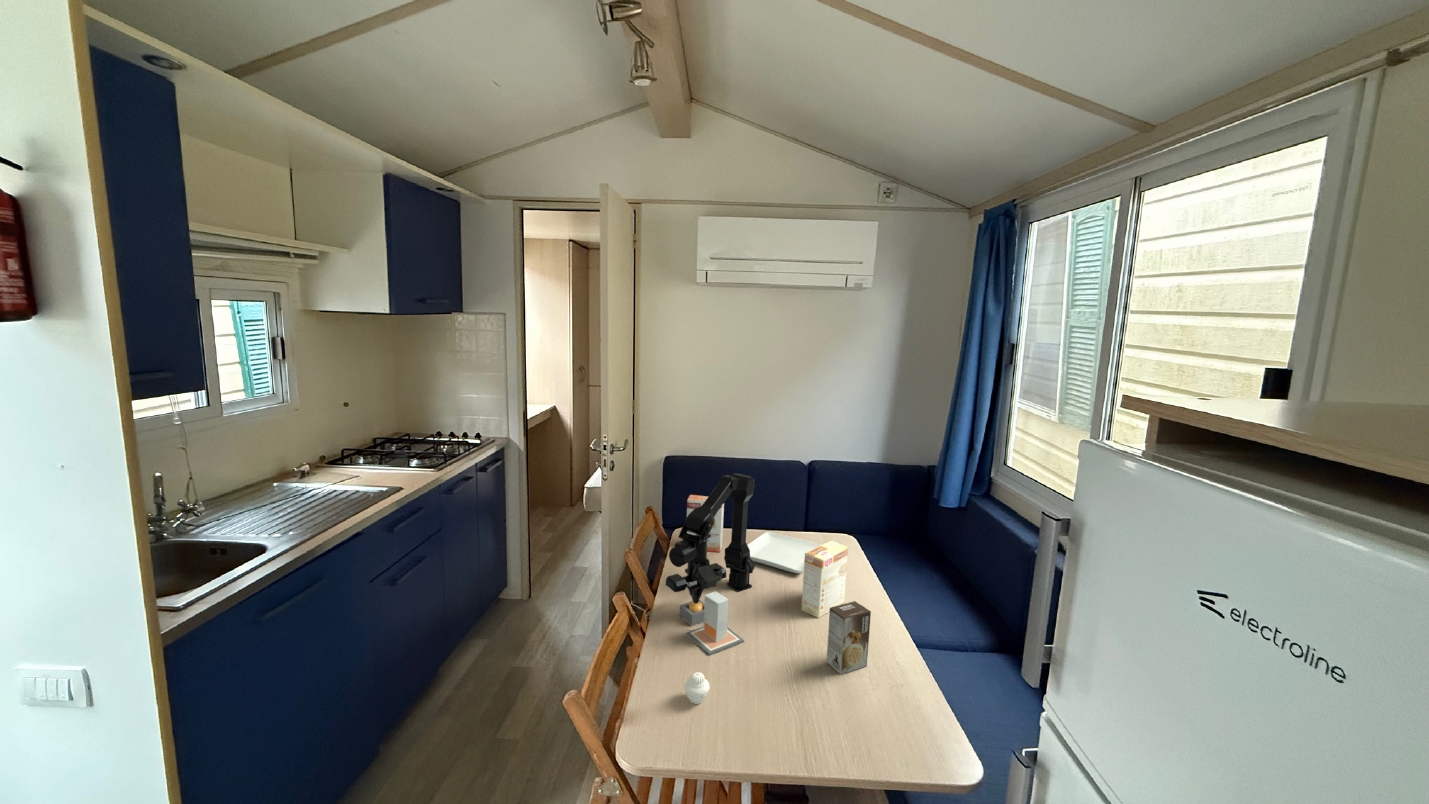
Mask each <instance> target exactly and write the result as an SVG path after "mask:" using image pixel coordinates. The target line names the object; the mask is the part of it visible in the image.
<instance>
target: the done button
mask: <svg viewBox="0 0 1429 804" xmlns="http://www.w3.org/2000/svg"><path fill="white" fill-rule="evenodd" d="M689 610H690V611H692V612H693V613H695V612H698V611H701V610H702V604H701V603H699V602H698V603H697V604H695V603H694V602H692V603H690V604H689Z"/></svg>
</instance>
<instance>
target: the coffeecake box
mask: <svg viewBox="0 0 1429 804" xmlns="http://www.w3.org/2000/svg"><path fill="white" fill-rule="evenodd" d="M848 552H849V547H848V546H846V545H844V544H841V543H838V542H836V541H834V540H829V541H828V542H825V543H823V544H821V546H819V547H817V548H815V549H812V550H810V551H808V552H806V553H805V560H804V570H803V578H802V579H803V580H802V582H803V583H802V593H801V594H802V595H801V611H802V612H805V613H806V614H809V615H811V616H812V617H815V618H817V619H820V618H821V617H823V616H825V615H826V614H827V613H830V608H831V607H835V606H839V605H842V604H845V598H846V597H845V595H846V594H845V593H846V583H847V582H846V581H847V569H848V556H849V555H848Z"/></svg>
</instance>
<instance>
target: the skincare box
mask: <svg viewBox="0 0 1429 804" xmlns="http://www.w3.org/2000/svg"><path fill="white" fill-rule="evenodd" d="M704 603H705V606H704V622H703V626H704V630H703V633H704V634H706V635H707V636H709V637H710V638H711V639H713V640H714V641H715V642H718V641H720V640H723V639H725V638H727V627H728V619H729V616H728V615H729V598H727V597H725V596H724V595H723V594H721V593H719V592H717V591H713V592H710V593H708V594H705V595H704Z"/></svg>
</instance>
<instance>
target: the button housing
mask: <svg viewBox="0 0 1429 804" xmlns="http://www.w3.org/2000/svg"><path fill="white" fill-rule="evenodd" d="M692 602H693V600H691V601H688V602H685V603H682V604H679V617H681V618H682V619H683V620H684V621H685V622H686V621H687V623H688V625H690V626H691V627H694V626H697V625H699V624H703V623H704V606H705V602H704V601H702V600H700V599H699V601H698V602H699V603H701V604H702V610H701V611H698V612H695V613H693V612H692V611H690V610H689V604H690V603H692ZM702 622H703V623H702ZM696 624H697V625H696Z"/></svg>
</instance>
